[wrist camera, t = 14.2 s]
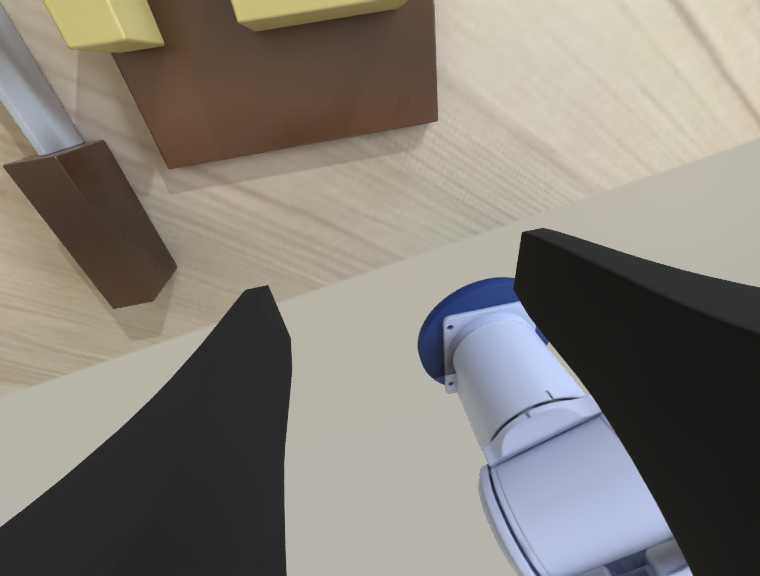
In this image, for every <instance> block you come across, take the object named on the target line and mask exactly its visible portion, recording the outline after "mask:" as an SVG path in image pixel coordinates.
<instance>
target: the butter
mask: <svg viewBox="0 0 760 576" xmlns="http://www.w3.org/2000/svg"><path fill="white" fill-rule="evenodd" d="M407 1H408V0H231V3H232V6H233V9H234V13H235V16H236V19H237V21H238V23H240V24H242V25H244V26H246V27H247V28H249V29H251V30H253V31H255V32H257V31H263V30H269V29H275V28H281V27H287V26H294V25H300V24H306V23H312V22H318V21H325V20H331V19H337V18H343V17H349V16H355V15H362V14H368V13H374V12H380V11H386V10H392V9H398V8H399V7H400V6H402V5H403V4H404V3H406V2H407Z"/></svg>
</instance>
